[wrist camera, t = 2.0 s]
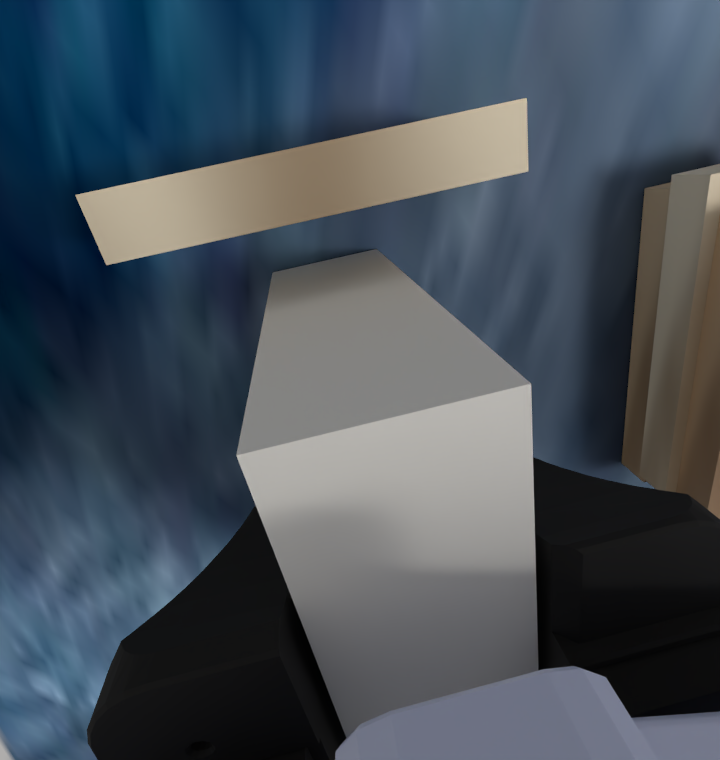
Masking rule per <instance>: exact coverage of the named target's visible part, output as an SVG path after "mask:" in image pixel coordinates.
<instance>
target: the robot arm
mask: <svg viewBox="0 0 720 760" xmlns="http://www.w3.org/2000/svg"><path fill="white" fill-rule="evenodd" d="M533 475H534V514H535V554H536V593H537V632H538V671H535V672H531V673H528V674H524V675H520V676H517V677H513V678H509V679H506V680H502V681H498V682H495V683H491V684H487V685H484V686H480V687H476V688H473V689H469V690H465V691H462V692H458V693H454V694H451V695H447V696H443V697H440V698H436V699H432V700H429V701H425V702H421V703H418V704H414V705H410V706H407V707H403V708H399V709H396V710H392V711H389V712H387V713H385V714H382V715H380V716H378V717H376V718H373V719H371V720H369V721H367V722H364V723H362V724H360V725H359V726H358V727H357V728H356V729H355V730H354V731H353V732H352V733H351V734H350V735H349V736H348V737H347V738H346V736H345V733H344V730H343V728H342V725H341V723H340V720H339V718H338V715H337V712H336V710H335V707H334V705H333V702H332V700H331V697H330V695H329V692H328V689H327V687H326V684H325V682H324V679H323V677H322V674H321V671H320V669H319V666H318V664H317V661H316V659H315V656H314V653H313V651H312V648H311V646H310V643H309V641H308V638H307V636H306V633H305V630H304V628H303V625H302V623H301V620H300V618H299V615H298V612H297V610H296V607H295V605H294V602H293V600H292V597H291V595H290V592H289V589H288V587H287V584H286V582H285V579H284V577H283V574H282V571H281V569H280V566H279V564H278V561H277V559H276V556H275V554H274V551H273V548H272V546H271V543H270V541H269V538H268V536H267V533H266V530H265V528H264V525H263V523H262V520H261V518H260V515H259V512H258V510H257V507H256V505H255V507H254V508H253V510H252V511H251V513H250V514H249V516H248V517H247V519H246V520H245V522H244V523H243V525H242V526H241V527H240V529H239V530H238V531H237V533H236V534H235V535H234V536H233V538H232V539H231V540H230V541H229V543H228V544H227V545H226V546H225V547H224V548H223V549H222V550H221V552H220V553H219V554H218V555H217V556H216V557H215V558H214V559H213V560H212V561H211V563H210V564H209V565H208V566H207V567H206V568H205V569H204V570H203V571H202V572H201V573H200V574H199V575H198V576H197V577H196V578H195V579H194V580H193V581H192V582H191V583H190V584H189V585H188V586H187V587H186V588H185V589H184V590H183V591H181V592H180V593H179V594H178V595H177V596H176V597H175V598H174V599H173V600H172V601H170V602H169V603H168V604H167V605H166V606H165V607H163V608H162V609H161V610H160V611H159V612H157V613H156V614H155V615H154V616H152V617H151V618H150V619H149V620H147V621H146V622H145V623H144V624H142V625H141V626H140V627H139V628H137V629H136V630H135V631H134V632H132V633H131V634H130V635H129V636H127V637H126V638H125V639H123V640H122V641H121V643H120V645H119V647H118V650H117V652H116V654H115V656H114V659H113V661H112V663H111V665H110V668H109V671H108V673H107V676H106V679H105V682H104V685H103V687H102V690H101V693H100V696H99V698H98V701H97V704H96V707H95V709H94V712H93V715H92V718H91V720H90V723H89V726H88V729H87V736H88V744H89V746H90V748H91V749H92V751H93V753H94V754H95V756H96V758H97V759H98V760H720V519H719V518H718V517H716V516H715V515H714V514H713V513H711V512H710V511H709V510H708V509H706V508H705V507H704V506H703V505H701V504H700V503H699V502H697V501H696V500H695V499H693V498H692V497H691V496H689V495H688V494H684V493H677V492H670V491H664V490H657V489H650V488H644V487H637V486H632V485H627V484H622V483H618V482H613V481H608V480H604V479H600V478H596V477H592V476H588V475H584V474H581V473H577V472H574V471H571V470H567V469H564V468H561V467H558V466H555V465H552V464H549V463H546V462H544V461H541V460H539V459H536V458H533Z"/></svg>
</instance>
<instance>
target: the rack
mask: <svg viewBox="0 0 720 760" xmlns="http://www.w3.org/2000/svg"><path fill="white" fill-rule="evenodd" d="M524 172H528V130H527V98H523V99H519V100H514V101H510V102H505V103H500V104H496V105H491V106H486V107H482V108H477V109H472V110H468V111H463V112H458V113H454V114H449V115H444V116H440V117H435V118H431V119H426V120H421V121H417V122H412V123H407V124H403V125H398V126H393V127H389V128H384V129H379V130H375V131H370V132H365V133H361V134H356V135H352V136H347V137H342V138H338V139H333V140H328V141H324V142H319V143H314V144H310V145H305V146H300V147H296V148H291V149H286V150H282V151H277V152H273V153H268V154H263V155H259V156H254V157H249V158H245V159H240V160H235V161H231V162H226V163H221V164H217V165H212V166H208V167H203V168H198V169H194V170H189V171H184V172H180V173H175V174H170V175H166V176H161V177H156V178H152V179H147V180H142V181H138V182H133V183H129V184H124V185H119V186H115V187H110V188H105V189H101V190H96V191H91V192H87V193H82V194H77V195H75V196H76V198H77V200H78V203H79V205H80V207H81V209H82V212H83V214H84V216H85V218H86V221H87V223H88V225H89V227H90V230H91V232H92V234H93V236H94V239H95V241H96V243H97V245H98V247H99V250H100V252H101V254H102V256H103V259H104V261H105V263H106V265H110V264H115V263H119V262H124V261H128V260H133V259H137V258H142V257H146V256H151V255H155V254H160V253H164V252H169V251H173V250H178V249H182V248H187V247H191V246H196V245H200V244H204V243H209V242H213V241H218V240H222V239H227V238H231V237H236V236H240V235H245V234H249V233H254V232H258V231H263V230H267V229H272V228H276V227H281V226H285V225H290V224H294V223H299V222H303V221H308V220H312V219H317V218H321V217H326V216H330V215H335V214H339V213H344V212H348V211H353V210H357V209H362V208H366V207H371V206H375V205H380V204H384V203H389V202H393V201H398V200H402V199H407V198H411V197H416V196H420V195H425V194H429V193H434V192H438V191H443V190H447V189H452V188H456V187H461V186H465V185H470V184H474V183H479V182H483V181H488V180H492V179H497V178H501V177H506V176H510V175H515V174H519V173H524Z"/></svg>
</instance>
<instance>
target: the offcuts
mask: <svg viewBox="0 0 720 760" xmlns="http://www.w3.org/2000/svg"><path fill="white" fill-rule="evenodd" d="M622 464H623V465H624V466H626V467H627V468H628V469H629V470H630V471H631V472H632V473H634V474H635V475H636V476H637V477H638V478H639V479H640V480H642V481H643V482H646V481H647V482H648V483H649V484H650V485H652V486H653V487H654V488H655V489H657V490H664V491H670V492H677V493H684V494H688V495H689V496H691V497H692V498H693V499H695V500H696V501H697V502H699V503H700V504H701V505H703V506H704V507H705V508H706V509H708V510H709V511H710V512H711V513H713V514H714V515H715V516H716V517H718V518H719V519H720V164H717V165H713V166H708V167H704V168H699V169H695V170H691V171H686V172H682V173H677V174H673V175H672V177H671V182H670V183H666V184H661V185H657V186H652V187H648V188H645V190H644V202H643V214H642V226H641V238H640V249H639V261H638V273H637V285H636V297H635V309H634V321H633V333H632V345H631V357H630V368H629V380H628V392H627V404H626V416H625V428H624V440H623V452H622Z"/></svg>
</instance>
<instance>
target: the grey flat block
mask: <svg viewBox="0 0 720 760" xmlns="http://www.w3.org/2000/svg"><path fill="white" fill-rule="evenodd" d="M236 456H237V459H238V461H239V464H240V466H241V469H242V471H243V474H244V477H245V479H246V482H247V484H248V487H249V489H250V492H251V495H252V497H253V500H254V502H255V505H256V507H257V510H258V512H259V515H260V518H261V520H262V523H263V525H264V528H265V530H266V533H267V536H268V538H269V541H270V543H271V546H272V548H273V551H274V554H275V556H276V559H277V561H278V564H279V566H280V569H281V571H282V574H283V577H284V579H285V582H286V584H287V587H288V589H289V592H290V595H291V597H292V600H293V602H294V605H295V607H296V610H297V612H298V615H299V618H300V620H301V623H302V625H303V628H304V630H305V633H306V636H307V638H308V641H309V643H310V646H311V648H312V651H313V653H314V656H315V659H316V661H317V664H318V666H319V669H320V671H321V674H322V677H323V679H324V682H325V684H326V687H327V689H328V692H329V695H330V697H331V700H332V702H333V705H334V707H335V710H336V712H337V715H338V718H339V720H340V723H341V725H342V728H343V730H344V733H345V736H346V738H347V737H348V736H349V735H350V734H351V733H352V732H353V731H354V730H355V729H356V728H357V727H358V726H359V725H360V724H362V723H364V722H367V721H369V720H371V719H373V718H376V717H378V716H380V715H382V714H385V713H387V712H389V711H392V710H396V709H399V708H403V707H407V706H410V705H414V704H418V703H421V702H425V701H429V700H432V699H436V698H440V697H443V696H447V695H451V694H454V693H458V692H462V691H465V690H469V689H473V688H476V687H480V686H484V685H487V684H491V683H495V682H498V681H502V680H506V679H509V678H513V677H517V676H520V675H524V674H528V673H531V672H535V671H538V632H537V593H536V554H535V514H534V475H533V436H532V397H531V383H530V382H529V381H528V380H526V379H525V378H524V377H523V376H522V375H521V374H520V373H518V372H517V371H516V370H515V369H514V368H513V367H512V366H510V365H509V364H508V363H507V362H506V361H505V360H503V359H502V358H501V357H500V356H499V355H498V354H497V353H495V352H494V351H493V350H492V349H491V348H490V347H489V346H487V345H486V344H485V343H484V342H483V341H482V340H481V339H479V338H478V337H477V336H476V335H475V334H474V333H472V332H471V331H470V330H469V329H468V328H467V327H466V326H464V325H463V324H462V323H461V322H460V321H459V320H458V319H456V318H455V317H454V316H453V315H452V314H451V313H449V312H448V311H447V310H446V309H445V308H444V307H443V306H441V305H440V304H439V303H438V302H437V301H436V300H435V299H433V298H432V297H431V296H430V295H429V294H428V293H427V292H425V291H424V290H423V289H422V288H421V287H420V286H418V285H417V284H416V283H415V282H414V281H413V280H412V279H410V278H409V277H408V276H407V275H406V274H405V273H404V272H402V271H401V270H400V269H399V268H398V267H397V266H396V265H394V264H393V263H392V262H391V261H390V260H389V259H387V258H386V257H385V256H384V255H383V254H382V253H381V252H379V251H378V250H377V249H374V250H370V251H365V252H361V253H356V254H352V255H348V256H343V257H339V258H334V259H330V260H325V261H321V262H317V263H312V264H308V265H303V266H299V267H295V268H290V269H286V270H281V271H277V272H273V273H272V278H271V283H270V288H269V293H268V298H267V303H266V308H265V313H264V318H263V323H262V328H261V333H260V339H259V344H258V349H257V354H256V359H255V364H254V369H253V374H252V379H251V384H250V389H249V394H248V399H247V404H246V409H245V414H244V419H243V424H242V429H241V434H240V439H239V444H238V449H237V454H236Z"/></svg>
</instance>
